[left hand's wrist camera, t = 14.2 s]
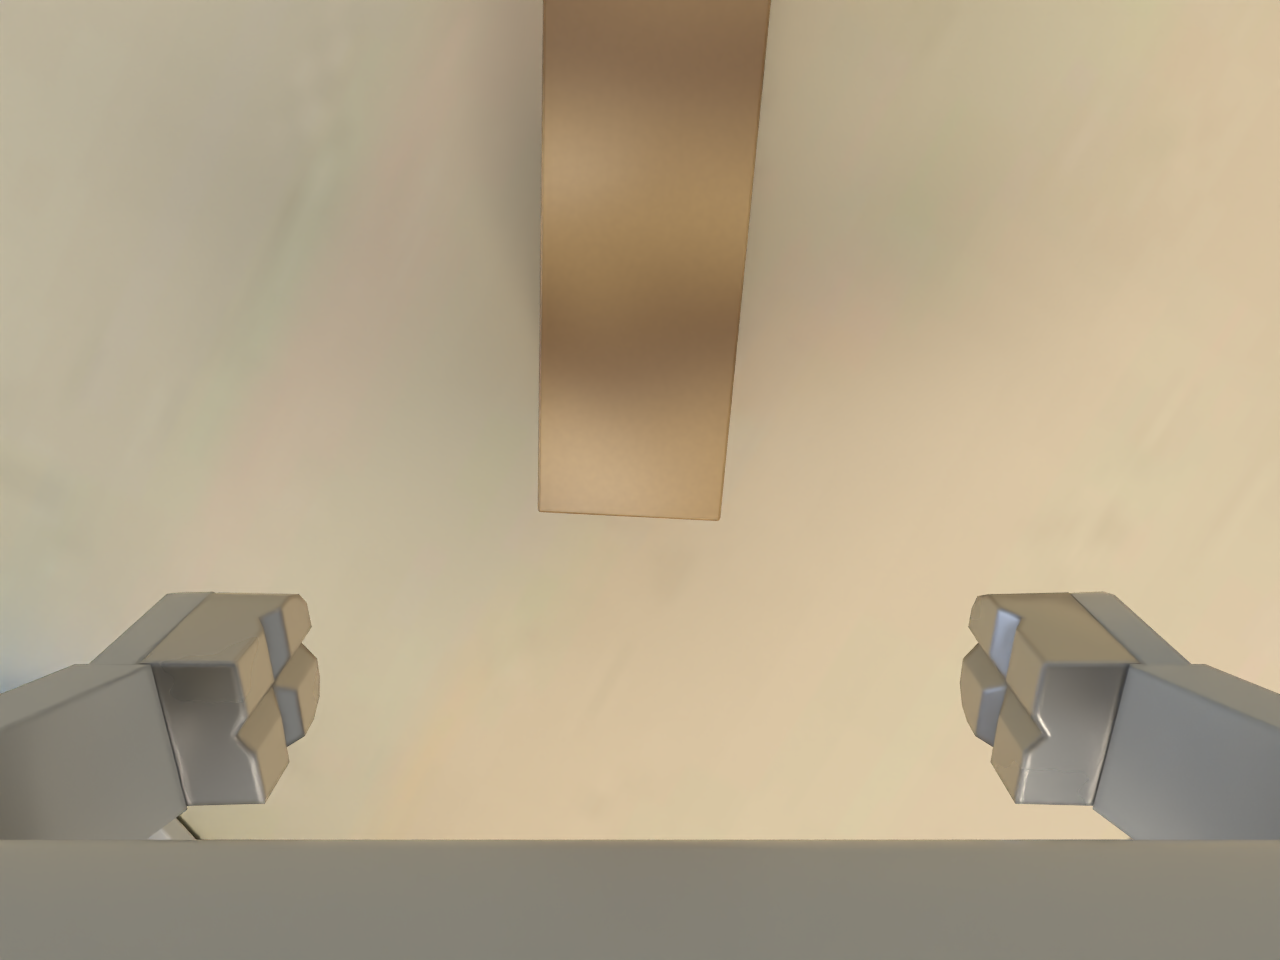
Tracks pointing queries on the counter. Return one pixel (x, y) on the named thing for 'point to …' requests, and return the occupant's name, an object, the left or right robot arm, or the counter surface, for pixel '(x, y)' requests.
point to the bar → (643, 248)
